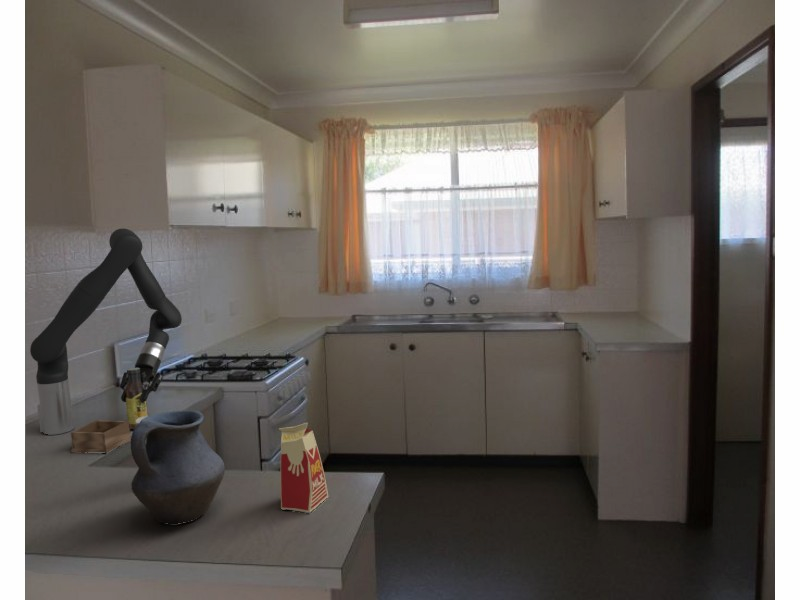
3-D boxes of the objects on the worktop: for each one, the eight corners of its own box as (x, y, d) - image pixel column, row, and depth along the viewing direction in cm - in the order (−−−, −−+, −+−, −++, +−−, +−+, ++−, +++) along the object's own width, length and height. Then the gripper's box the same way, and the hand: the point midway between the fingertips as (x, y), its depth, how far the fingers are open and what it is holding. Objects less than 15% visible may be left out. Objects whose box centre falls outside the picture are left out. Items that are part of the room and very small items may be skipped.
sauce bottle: (141, 430, 215) (135, 371, 212) (124, 430, 216) (118, 371, 213) (152, 423, 221) (146, 366, 218) (136, 423, 222) (130, 366, 220)
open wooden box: (71, 452, 198) (68, 432, 197) (98, 438, 210) (96, 419, 209) (106, 454, 195) (104, 434, 194) (132, 439, 207) (130, 420, 206)
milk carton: (328, 497, 157) (323, 417, 155) (311, 514, 149) (305, 429, 146) (294, 493, 160) (289, 415, 158) (276, 510, 152) (269, 427, 149)
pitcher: (246, 503, 156) (238, 402, 153) (182, 546, 137) (171, 431, 133) (179, 491, 165) (170, 395, 162) (110, 531, 145) (98, 423, 142)
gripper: (126, 352, 224) (107, 395, 214) (163, 352, 221) (146, 396, 211) (137, 363, 230) (119, 406, 220) (174, 364, 227) (157, 407, 217)
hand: (132, 401), depth 216 cm, fingers closed on sauce bottle, 6 cm apart
